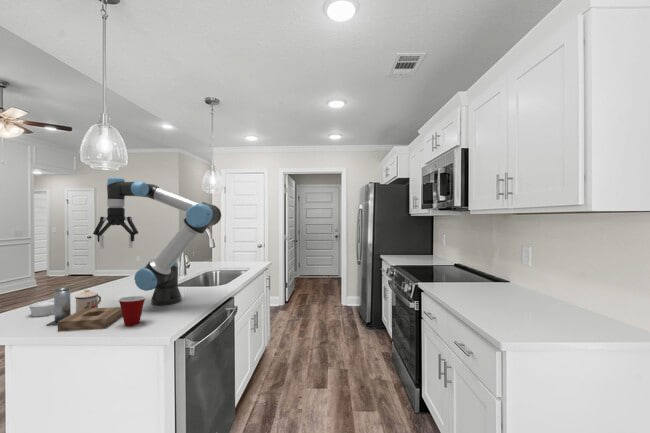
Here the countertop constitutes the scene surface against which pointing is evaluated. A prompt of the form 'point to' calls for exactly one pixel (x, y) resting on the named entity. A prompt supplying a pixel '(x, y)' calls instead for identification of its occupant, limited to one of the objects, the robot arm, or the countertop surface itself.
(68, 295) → the grey metal cylinder
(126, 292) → the countertop surface
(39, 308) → the ramekin
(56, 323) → the pad
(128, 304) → the plastic cup
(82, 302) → the teacup with lid
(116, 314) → the frame
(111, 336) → the countertop surface
